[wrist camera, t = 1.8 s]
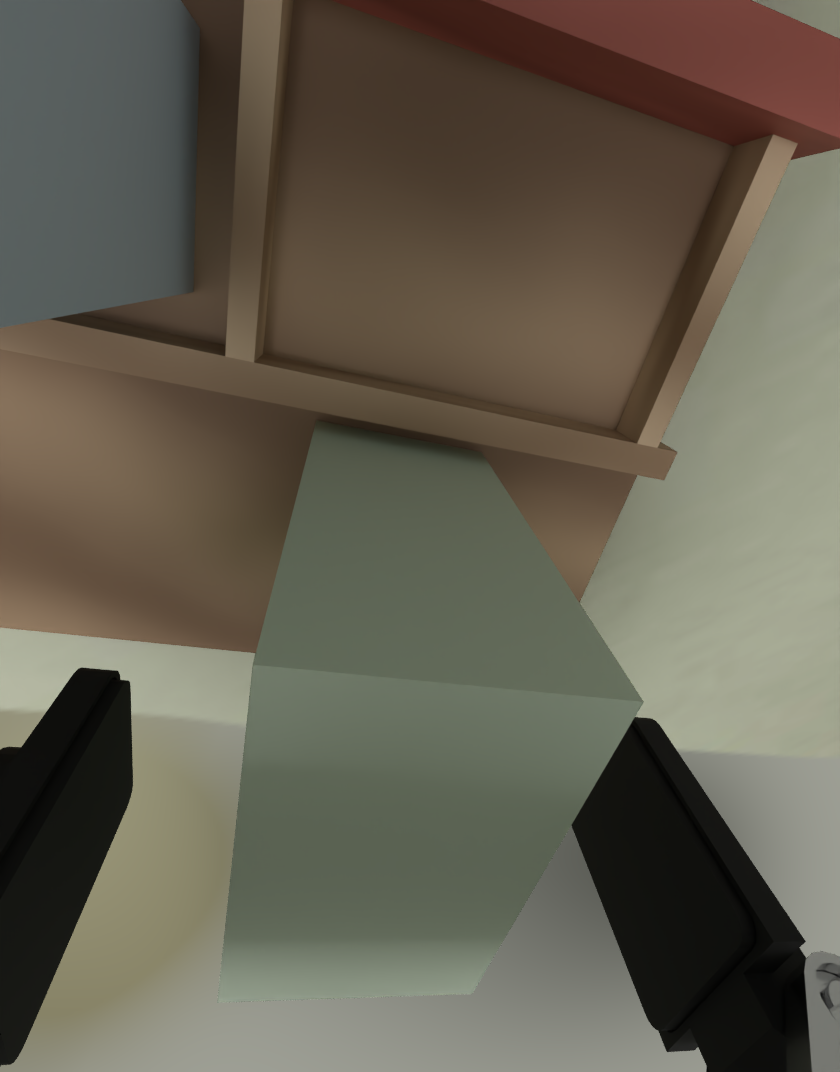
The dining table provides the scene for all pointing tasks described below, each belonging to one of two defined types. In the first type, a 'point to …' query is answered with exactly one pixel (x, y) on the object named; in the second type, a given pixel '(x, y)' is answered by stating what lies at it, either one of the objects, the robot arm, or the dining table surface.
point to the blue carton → (96, 154)
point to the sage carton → (408, 729)
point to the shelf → (403, 286)
